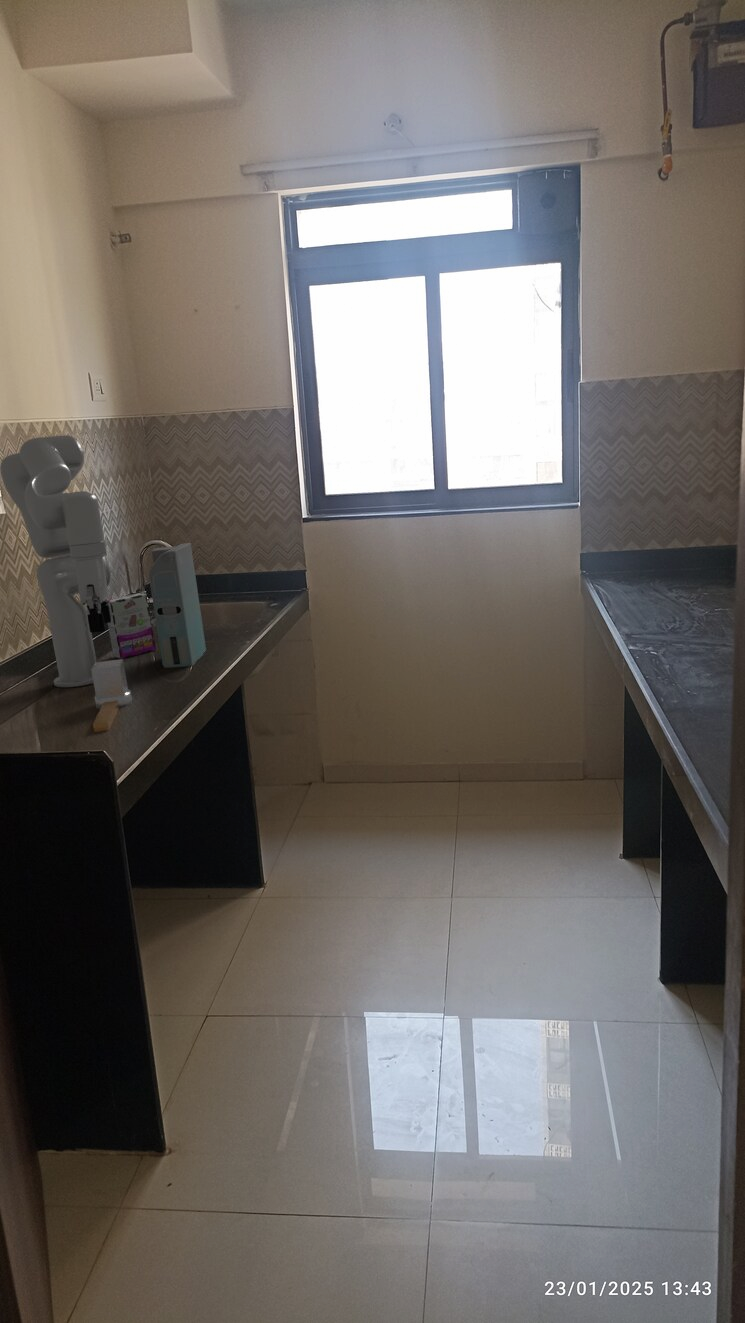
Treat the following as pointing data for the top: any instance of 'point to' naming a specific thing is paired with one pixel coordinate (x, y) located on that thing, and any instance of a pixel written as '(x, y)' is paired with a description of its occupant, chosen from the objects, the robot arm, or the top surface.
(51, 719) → the top surface
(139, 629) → the candy bar box
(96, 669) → the white block
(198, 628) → the device
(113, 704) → the hammer
